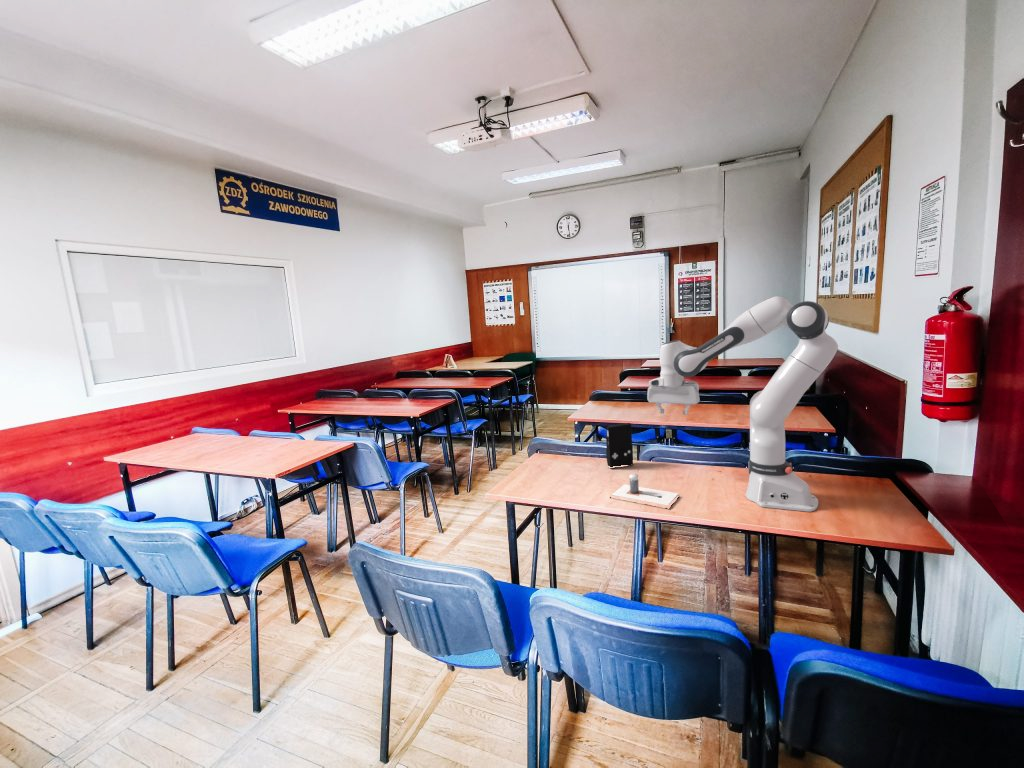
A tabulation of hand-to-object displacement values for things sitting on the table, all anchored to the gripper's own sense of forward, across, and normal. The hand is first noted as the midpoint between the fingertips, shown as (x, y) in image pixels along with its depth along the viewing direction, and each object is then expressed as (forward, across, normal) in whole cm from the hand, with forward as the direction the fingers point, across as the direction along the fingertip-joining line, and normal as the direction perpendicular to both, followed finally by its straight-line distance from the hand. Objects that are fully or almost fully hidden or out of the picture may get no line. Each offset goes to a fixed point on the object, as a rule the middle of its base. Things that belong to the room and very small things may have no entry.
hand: (673, 413), depth 182 cm
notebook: (+28, +5, +22) cm, 37 cm away
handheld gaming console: (+28, +28, -7) cm, 41 cm away
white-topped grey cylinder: (+27, +9, +22) cm, 36 cm away
